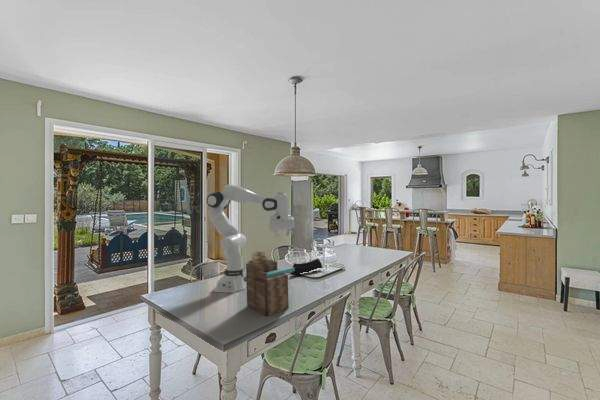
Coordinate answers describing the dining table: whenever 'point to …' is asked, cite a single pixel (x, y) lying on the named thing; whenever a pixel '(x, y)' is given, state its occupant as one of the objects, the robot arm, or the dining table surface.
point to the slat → (280, 271)
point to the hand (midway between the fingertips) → (282, 236)
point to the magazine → (306, 267)
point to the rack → (265, 286)
